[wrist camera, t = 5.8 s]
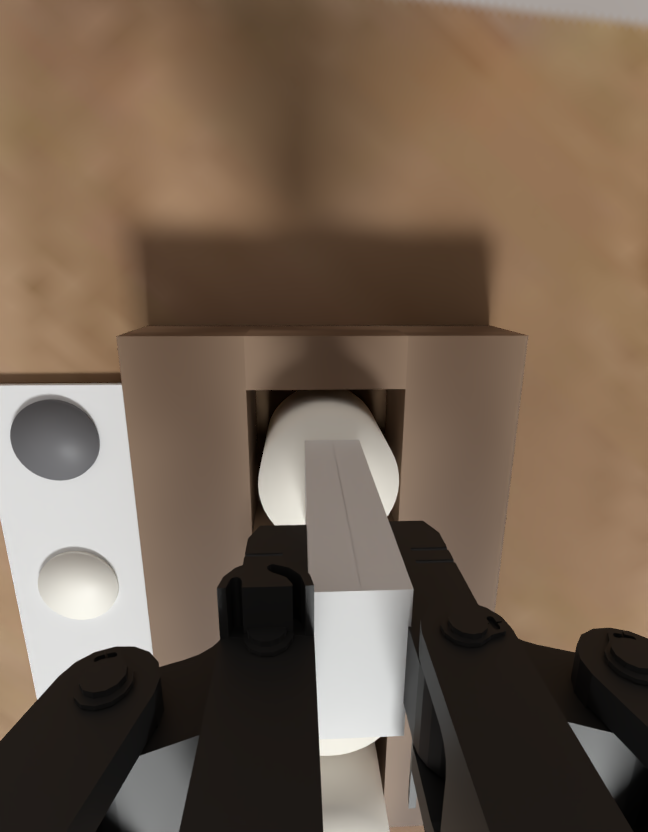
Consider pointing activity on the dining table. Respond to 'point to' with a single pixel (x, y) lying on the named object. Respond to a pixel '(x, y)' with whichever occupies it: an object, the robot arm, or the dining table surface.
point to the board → (238, 458)
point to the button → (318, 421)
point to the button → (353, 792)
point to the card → (71, 523)
